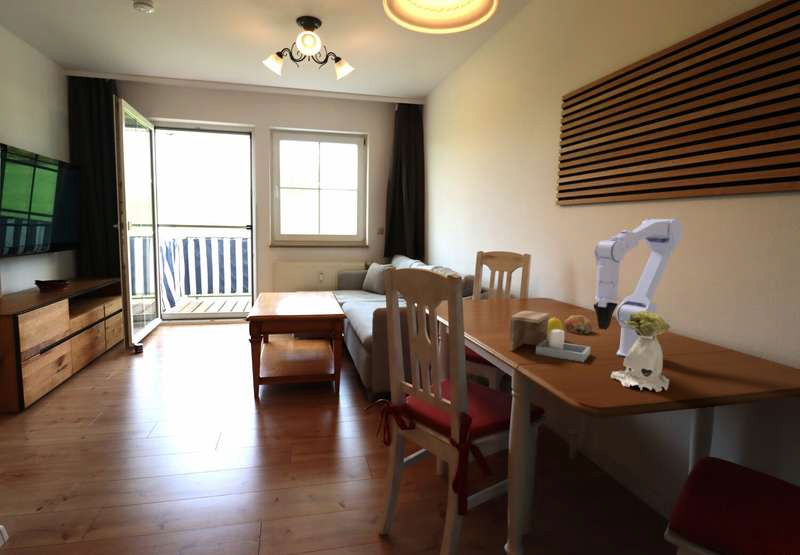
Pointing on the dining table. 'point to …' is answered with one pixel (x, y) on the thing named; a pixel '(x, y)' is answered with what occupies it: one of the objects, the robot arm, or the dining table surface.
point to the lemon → (554, 324)
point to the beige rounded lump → (556, 339)
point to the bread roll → (577, 325)
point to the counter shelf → (528, 328)
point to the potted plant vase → (644, 353)
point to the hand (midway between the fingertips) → (603, 327)
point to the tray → (564, 351)
